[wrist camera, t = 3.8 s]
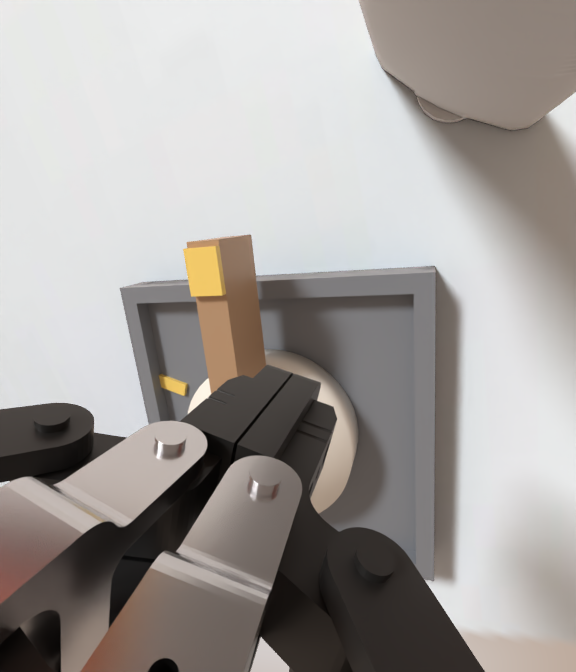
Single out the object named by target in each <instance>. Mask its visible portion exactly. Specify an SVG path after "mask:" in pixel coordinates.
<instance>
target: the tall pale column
mask: <svg viewBox="0 0 576 672" xmlns="http://www.w3.org/2000/svg"><path fill="white" fill-rule="evenodd" d="M359 3H360V6H361V10H362V13H363V16H364V19H365V23H366V26H367V29H368V32H369V35H370V38H371V41H372V45H373V48H374V51H375V54H376V57H377V59H378V61H379V63H380V65H381V67H382V69H384V70H385V71H386V72H388V73H389V74H390V75H392V76H393V77H395V78H396V79H397V80H399V81H400V82H401V83H403V84H404V85H405V86H407V87H408V88H410V89H411V90H412V91H414V93H415V95H417V99H418V103H419V105H420V106H421V108H422V110H423V111H424V113H425V114H427V115H428V116H429V117H431V118H432V119H433V120H436V121H440V122H444V123H449V122H458V121H461V120H463V119H466V118H468V119H472V120H475V121H479V122H482V123H486V124H489V125H493V126H496V127H500V128H503V129H507V130H510V131H512V130H519V129H526V128H529V127H530V126H532V125H533V124H535V123H536V122H537V121H539V120H540V119H542V118H543V117H544V116H545V115H546V114H547V113H549V112H550V111H551V110H553V109H554V108H555V107H557V106H558V105H560V104H561V103H562V102H563V101H565V100H566V99H567V98H568V97H570V96H571V95H572V94H573V93H575V92H576V0H359Z"/></svg>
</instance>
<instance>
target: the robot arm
mask: <svg viewBox="0 0 576 672" xmlns="http://www.w3.org/2000/svg"><path fill="white" fill-rule="evenodd" d="M320 387H321V382H318V381H315V380H312V379H309V378H306V377H304V376H301V375H298V374H293V373H292V372H289V371H286V370H283V369H280V368H277V367H274V366H271V365H266V366H265V367H264V368H263V369H262V370H261V371H260V372H259V373H258V374H257V375H256V376H255V377H254V378H251V377H248V376H245V375H242V376H238V377H235V378H232V379H229V380H227V381H226V382H225V383H224V384H222V385H221V386H220V387H219V388H218V389H217V391H214V392H213V393H212V394H211V395H210V396H209V397H208V399H207V398H206V399H205V400H204V401H203V402H201V403H200V404H199V405H198V406H197V407H196V408H195V409H193V410H192V411H191V412H190V413H189V414H188V415H186V416H185V417H184V418H183V419H182V420H181V421H179V422H178V421H161V422H155V423H152V424H149V425H147V426H145V427H143V428H141V429H140V430H138V431H137V432H135V433H134V434H132V435H131V436H129V437H128V438H126V437H119V436H112V435H106V434H99V433H94V417H93V415H92V414H91V413H90V412H89V411H88V410H87V409H85V408H83V407H81V406H78V405H74V404H68V403H50V404H42V405H33V406H25V407H17V408H9V409H1V410H0V482H5V481H10V482H9V483H7V484H5V485H4V486H2V487H0V672H250V670H251V667H252V664H253V660H254V658H255V654H256V651H257V648H258V644H259V641H260V638H261V637H262V638H263V639H264V640H265V641H266V643H267V644H268V645H269V646H270V647H271V648H272V649H273V650H274V651H275V652H276V653H277V654H278V655H279V656H280V657H281V658H282V659H283V661H284V662H285V663H286V664H287V665H288V666H289V667H290V669H289V672H485V671H484V670H483V668H482V667H481V665H480V664H479V662H478V661H477V659H476V658H475V656H474V655H473V653H472V652H471V650H470V649H469V647H468V646H467V644H466V643H465V641H464V640H463V638H462V636H461V635H460V633H459V632H458V630H457V629H456V627H455V626H454V624H453V623H452V621H451V620H450V618H449V617H448V615H447V614H446V612H445V611H444V609H443V608H442V606H441V605H440V603H439V602H438V600H437V599H436V597H435V595H434V594H433V592H432V591H431V589H430V588H429V586H428V585H427V583H426V582H425V580H424V579H423V577H422V576H421V574H420V573H419V571H418V570H417V568H416V567H415V565H414V564H413V562H412V561H411V559H410V558H409V556H408V555H407V554H406V552H405V551H404V550H403V549H402V548H401V547H400V546H399V545H398V544H397V543H396V542H394V541H393V540H392V539H390V538H389V537H387V536H386V535H384V534H382V533H380V532H377V531H375V530H372V529H368V528H362V527H351V528H347V529H344V530H342V531H340V532H339V531H337V530H336V529H335V528H333V527H332V526H331V525H329V524H328V523H327V522H326V521H325V520H324V519H323V518H322V517H321V516H320V515H319V514H318V513H317V511H316V510H315V508H314V507H313V505H312V503H311V500H310V499H311V496H312V493H313V491H314V489H315V486H316V484H317V481H318V479H319V476H320V474H321V471H322V469H323V466H324V462H325V459H326V456H327V452H328V449H329V445H330V442H331V439H332V435H333V432H334V428H335V425H336V422H337V417H336V413H335V410H334V407H333V406H330V405H328V404H325V403H322V402H319V401H317V399H318V395H319V392H320Z"/></svg>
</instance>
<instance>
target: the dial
mask: <svg viewBox="0 0 576 672" xmlns="http://www.w3.org/2000/svg"><path fill="white" fill-rule="evenodd" d="M187 247H188V248H186V249H183V250H184V256H185V263H186V269H187V275H188V281H189V287H190V293H191V297H196V303H197V309H198V316H199V322H200V328H201V334H202V340H203V347H204V353H205V359H206V365H207V371H208V379H207V380H205V382H204V383H203V384H202V385H201V386H200V387H199V388H198V390H197V391H196V393H195V394H194V396H193V398H192V400H191V403H190V406H189V409H188V414H189V413H190V412H191V411H192V410H193V409H195V408H196V407H197V406H198V405H199V404H200V403H201V402H203V401H204V400H205V399H206V398H207V399H208V397H209V396H210V395H211V394H212V393H213V392H214V391H217V389H218V388H219V387H220V386H221V385H222V384H224V383H225V382H226V381H227V380H229V379H232V378H235V377H238V376H242V375H245V376H248V377H251V378H254V377H255V376H256V375H257V374H258V373H259V372H260V371H261V370H262V369H263V368H264V367H265V366H266V365H271V366H274V367H277V368H280V369H283V370H286V371H289V372H292V373H293V374H298V375H301V376H304V377H306V378H309V379H312V380H315V381H318V382H321V387H320V392H319V395H318V399H317V401H319V402H322V403H325V404H328V405H330V406H333V407H334V410H335V413H336V417H337V422H336V425H335V428H334V432H333V435H332V439H331V442H330V445H329V449H328V452H327V456H326V459H325V462H324V466H323V469H322V471H321V474H320V476H319V479H318V481H317V484H316V486H315V489H314V491H313V493H312V496H311V499H310V500H311V503H312V505H313V507H314V508H315V510H316V511H317V513H321V512H322V511H324V510H325V509H327V508H328V507H330V506H331V505H332V504H333V503H334V502H335V501H336V500H337V499H338V497H339V496H340V495H341V494H342V492H343V490H344V488H345V486H346V484H347V481H348V478H349V475H350V472H351V468H352V465H353V461H354V458H355V454H356V451H357V445H358V423H357V418H356V415H355V411H354V408H353V406H352V404H351V401H350V399H349V398H348V396H347V394H346V393H345V391H344V390H343V388H342V387H341V386H340V384H339V383H338V382H337V381H336V380H335V379H334V378H333V377H332V376H331V375H330V374H329V373H328V372H327V371H326V370H325V369H323V368H322V367H321V366H319V365H318V364H316V363H315V362H313V361H311V360H309V359H307V358H305V357H303V356H301V355H298V354H295V353H292V352H288V351H283V350H276V349H264V342H263V333H262V325H261V316H260V307H259V299H258V290H257V282H256V273H255V265H254V256H253V248H252V239H251V235H242V236H231V237H221V238H214V239H207V240H199V241H192V242H187Z"/></svg>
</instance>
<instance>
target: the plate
mask: <svg viewBox="0 0 576 672" xmlns="http://www.w3.org/2000/svg"><path fill="white" fill-rule="evenodd" d="M256 282H257V290H258V299H259V307H260V316H261V325H262V333H263V342H264V349H276V350H283V351H288V352H292V353H295V354H298V355H301V356H303V357H305V358H307V359H309V360H311V361H313V362H315V363H316V364H318V365H319V366H321V367H322V368H323V369H325V370H326V371H327V372H328V373H329V374H330V375H331V376H332V377H333V378H334V379H335V380H336V381H337V382H338V383H339V384H340V386H341V387H342V388H343V390H344V391H345V393H346V394H347V396H348V398H349V399H350V401H351V404H352V406H353V408H354V411H355V415H356V418H357V423H358V445H357V451H356V454H355V458H354V461H353V465H352V468H351V472H350V475H349V478H348V481H347V484H346V486H345V488H344V490H343V492H342V494H341V495H340V496H339V497H338V499H337V500H336V501H335V502H334V503H333V504H332V505H331V506H330V507H328V508H327V509H325V510H324V511H322V512H321V513H318V514H319V515H320V516H321V517H322V518H323V519H324V520H325V521H326V522H327V523H328V524H329V525H331V526H332V527H333V528H335V529H336V530H337V531H339V532H340V531H342V530H344V529H347V528H351V527H362V528H368V529H372V530H375V531H377V532H380V533H382V534H384V535H386V536H387V537H389V538H390V539H392V540H393V541H394V542H396V543H397V544H398V545H399V546H400V547H401V548H402V549H403V550H404V551H405V552H406V554H407V555H408V556H409V558H410V559H411V561H412V562H413V564H414V565H415V567H416V568H417V570H418V571H419V573H420V574H421V576H422V577H423V579H426V580H431V581H434V485H435V315H436V271H435V266H426V267H408V268H389V269H371V270H353V271H335V272H317V273H299V274H281V275H263V276H256ZM120 291H121V295H122V300H123V305H124V310H125V314H126V319H127V324H128V328H129V333H130V338H131V343H132V347H133V352H134V357H135V361H136V366H137V371H138V375H139V380H140V385H141V390H142V394H143V399H144V404H145V408H146V413H147V418H148V422H149V424H152V423H155V422H161V421H178V422H179V421H181V420H182V419H183V418H184V417H185V416H186V415H188V409H189V406H190V403H191V400H192V398H193V396H194V394H195V393H196V391H197V390H198V388H199V387H200V386H201V385H202V384H203V383H204V382H205V380H207V379H208V371H207V365H206V359H205V353H204V347H203V340H202V334H201V328H200V322H199V316H198V309H197V303H196V297H191V293H190V287H189V281H188V280H173V281H155V282H142V283H138V284H134V285H130V286H126V287H122V288H120Z"/></svg>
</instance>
